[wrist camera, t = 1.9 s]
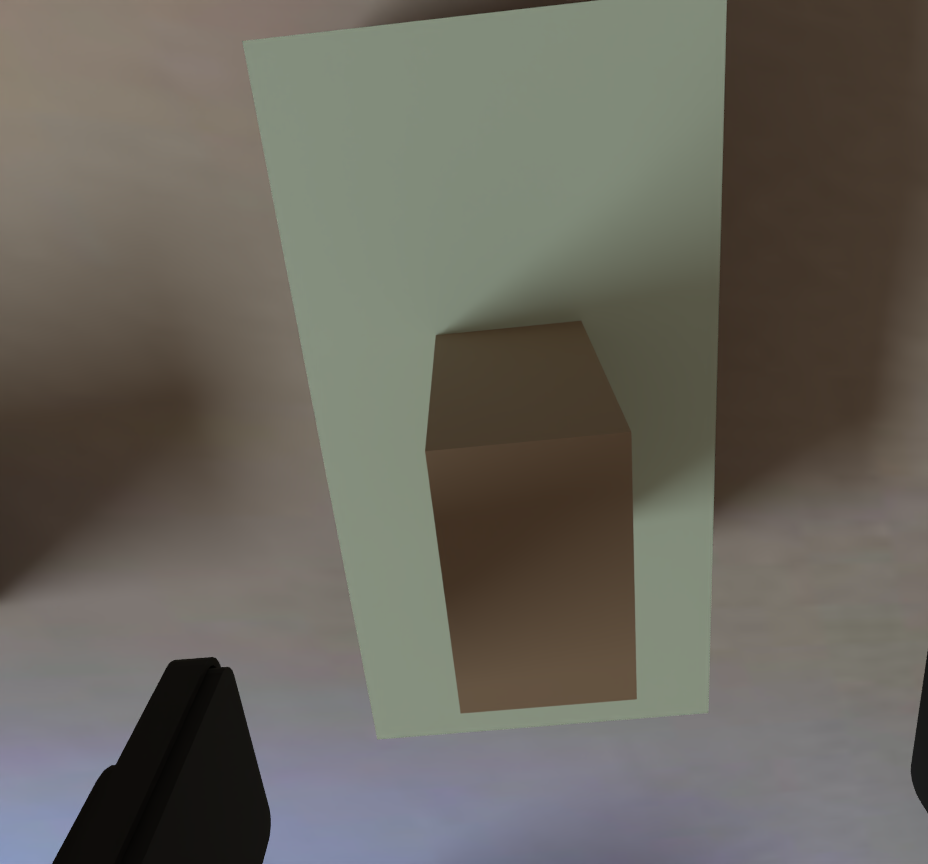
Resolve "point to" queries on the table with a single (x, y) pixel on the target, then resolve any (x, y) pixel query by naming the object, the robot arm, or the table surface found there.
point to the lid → (512, 348)
